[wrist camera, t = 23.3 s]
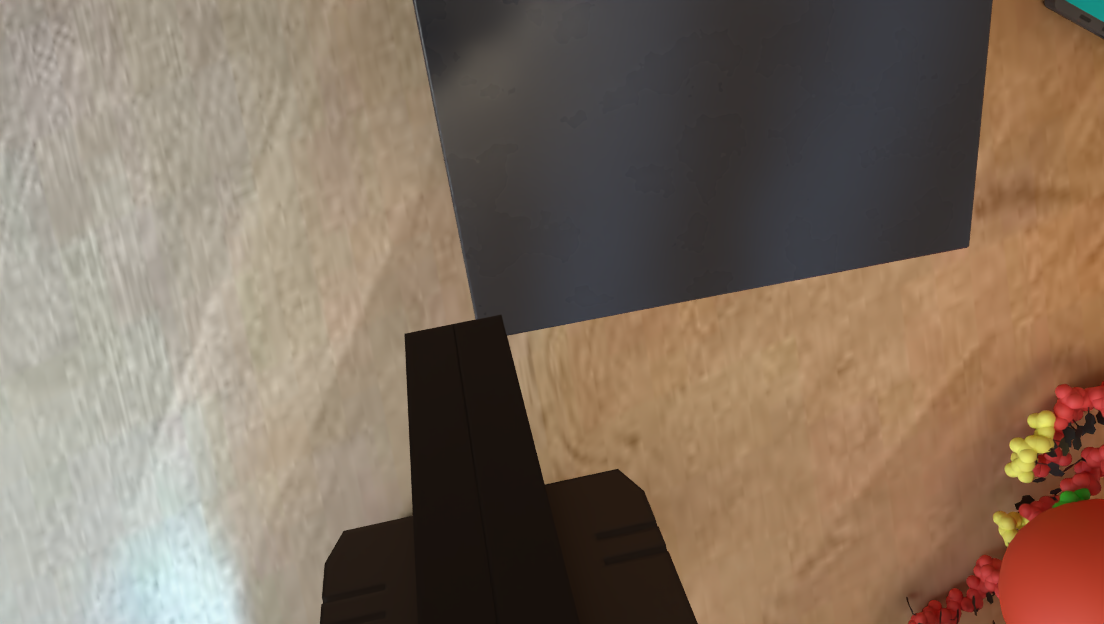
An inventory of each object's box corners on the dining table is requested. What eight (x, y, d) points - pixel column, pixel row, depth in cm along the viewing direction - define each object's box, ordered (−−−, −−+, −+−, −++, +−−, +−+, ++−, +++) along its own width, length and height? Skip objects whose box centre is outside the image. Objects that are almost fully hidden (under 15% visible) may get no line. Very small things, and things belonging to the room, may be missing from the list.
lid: (478, 330, 29) (479, 342, 28) (395, -91, 23) (395, -89, 23) (956, 238, 30) (970, 248, 30) (994, -184, 24) (1012, -185, 24)
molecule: (1006, 669, 63) (1100, 896, 50) (856, 632, 63) (909, 850, 50) (1205, 378, 51) (1400, 573, 38) (1020, 333, 51) (1149, 512, 38)
